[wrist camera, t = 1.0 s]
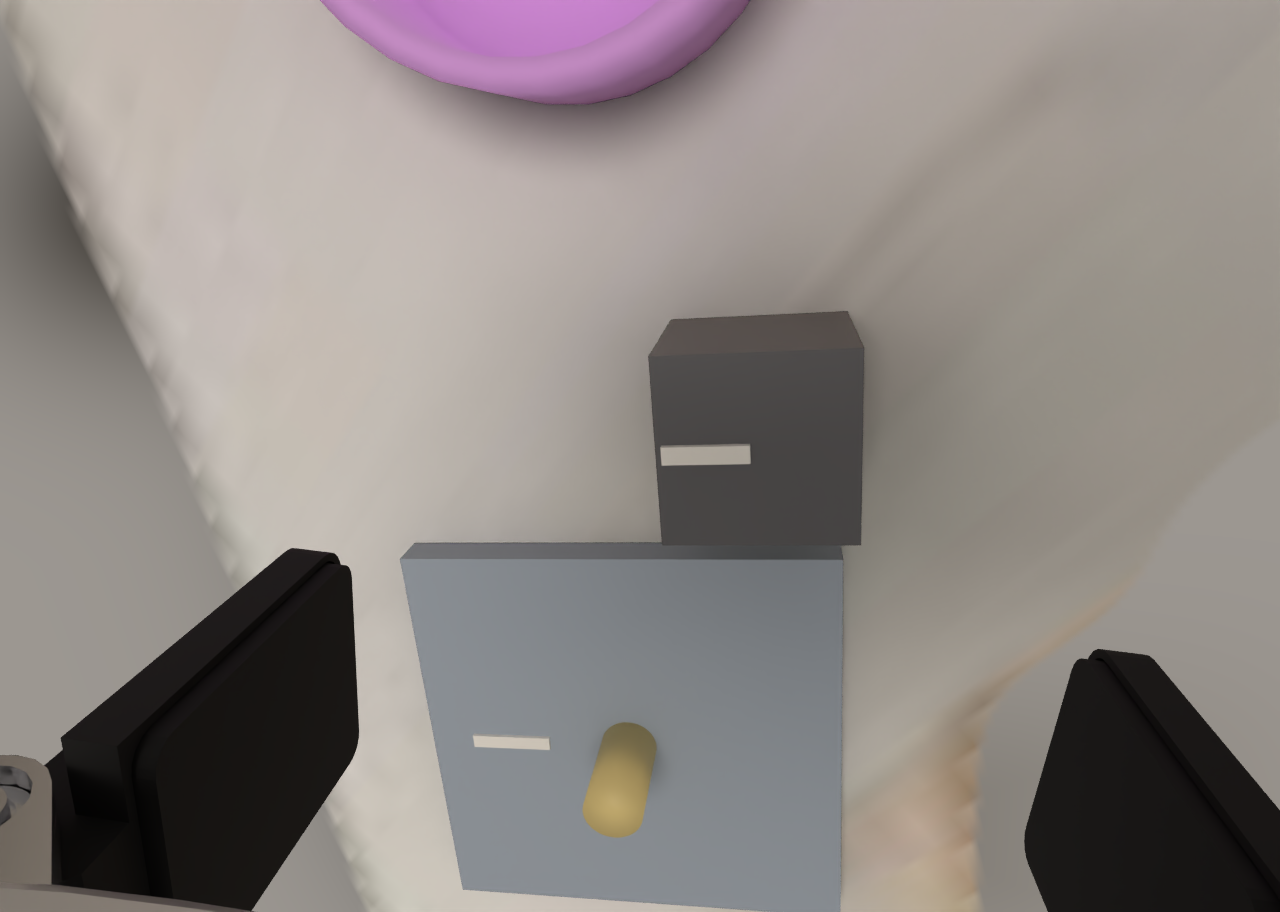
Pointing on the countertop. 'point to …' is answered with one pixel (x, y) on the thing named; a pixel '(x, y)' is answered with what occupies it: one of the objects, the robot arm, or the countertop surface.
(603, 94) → the container set
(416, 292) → the countertop surface
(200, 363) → the countertop surface
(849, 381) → the dark gray cube
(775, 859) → the hub panel
